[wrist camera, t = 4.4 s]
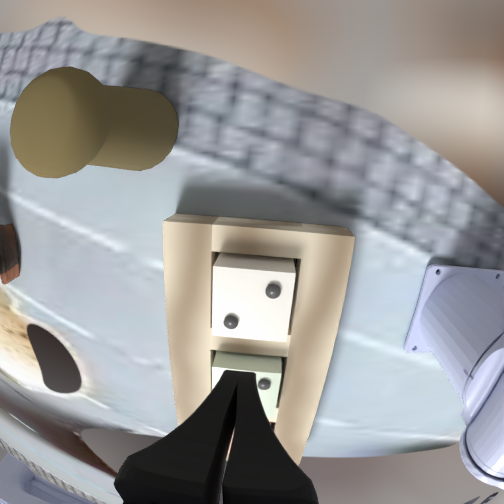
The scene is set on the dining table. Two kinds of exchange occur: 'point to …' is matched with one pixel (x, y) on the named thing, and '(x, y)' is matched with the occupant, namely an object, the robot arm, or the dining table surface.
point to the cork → (89, 125)
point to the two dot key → (252, 296)
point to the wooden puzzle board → (294, 350)
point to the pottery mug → (8, 254)
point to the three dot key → (261, 365)
